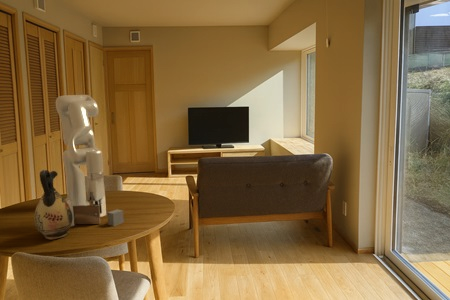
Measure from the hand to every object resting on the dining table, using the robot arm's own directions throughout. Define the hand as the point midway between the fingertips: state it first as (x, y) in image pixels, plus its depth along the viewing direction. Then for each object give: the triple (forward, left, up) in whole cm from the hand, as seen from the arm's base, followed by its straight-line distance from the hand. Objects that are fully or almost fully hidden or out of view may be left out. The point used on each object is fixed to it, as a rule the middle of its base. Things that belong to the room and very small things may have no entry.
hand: (98, 213), depth 207 cm
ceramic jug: (0, -24, -4) cm, 24 cm away
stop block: (+10, +2, -4) cm, 11 cm away
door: (-1, -6, -4) cm, 7 cm away
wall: (-6, -3, -4) cm, 8 cm away
